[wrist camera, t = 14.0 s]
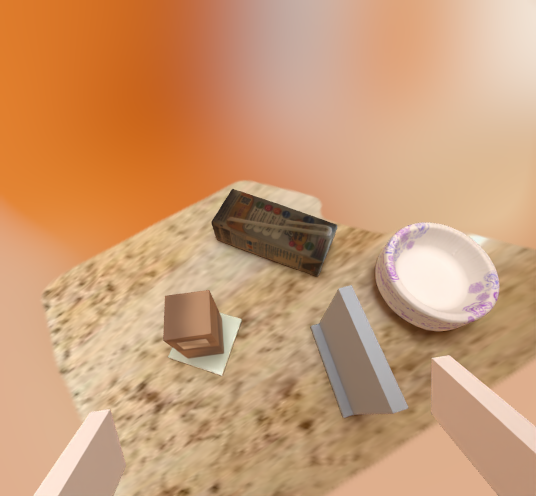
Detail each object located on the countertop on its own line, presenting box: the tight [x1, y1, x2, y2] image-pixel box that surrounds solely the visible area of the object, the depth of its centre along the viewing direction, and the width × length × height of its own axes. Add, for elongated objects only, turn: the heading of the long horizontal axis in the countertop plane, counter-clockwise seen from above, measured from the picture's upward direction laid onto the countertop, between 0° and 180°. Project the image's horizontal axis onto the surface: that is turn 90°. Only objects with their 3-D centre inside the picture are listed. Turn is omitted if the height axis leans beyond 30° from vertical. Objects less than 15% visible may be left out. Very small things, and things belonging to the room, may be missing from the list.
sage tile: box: [168, 313, 242, 376], centre depth 41 cm, size 8×8×1 cm
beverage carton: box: [212, 189, 337, 277], centre depth 47 cm, size 8×19×7 cm, turn 67°
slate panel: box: [310, 285, 408, 418], centre depth 34 cm, size 12×4×14 cm, turn 16°
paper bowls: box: [375, 223, 499, 331], centre depth 42 cm, size 15×15×8 cm
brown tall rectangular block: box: [163, 290, 224, 359], centre depth 36 cm, size 5×5×11 cm
